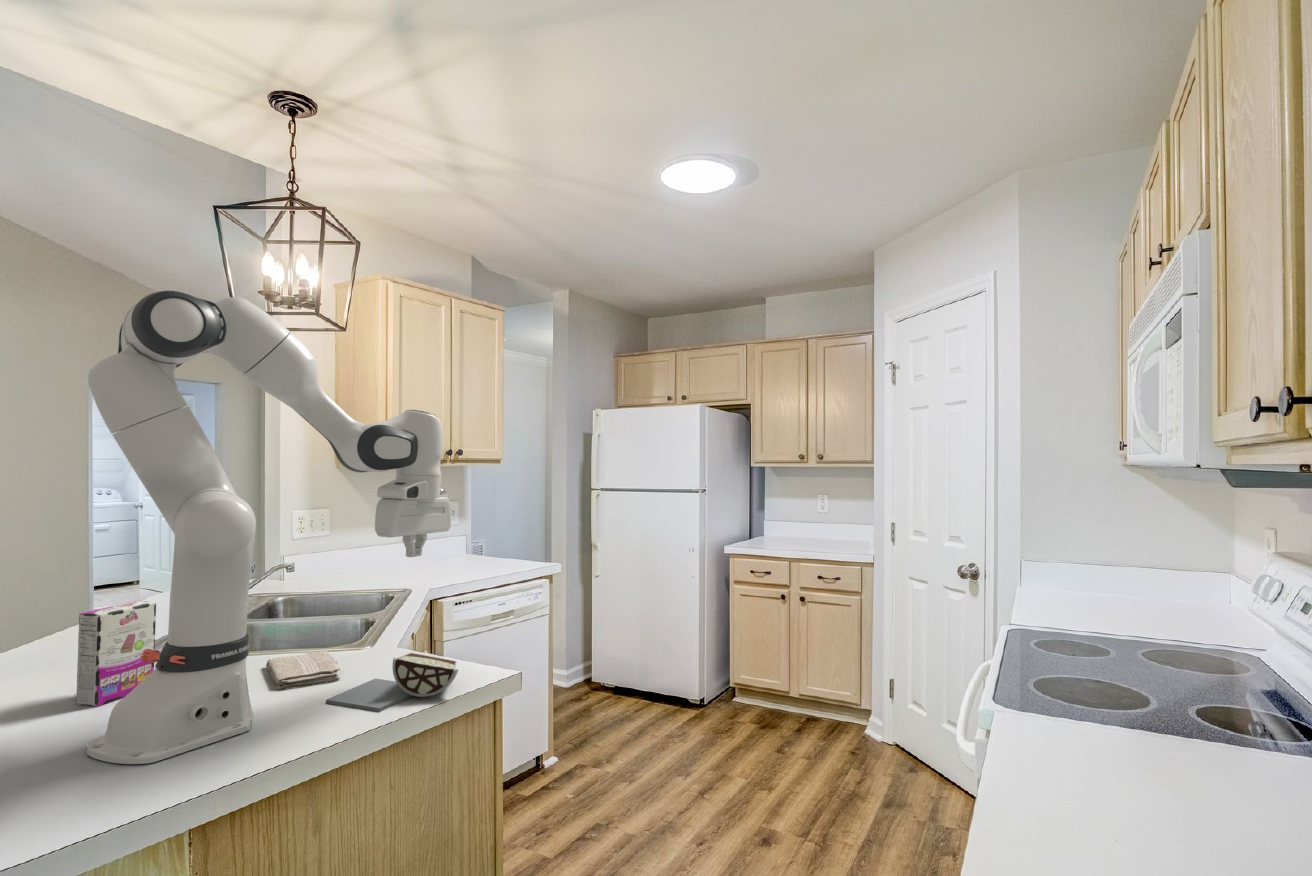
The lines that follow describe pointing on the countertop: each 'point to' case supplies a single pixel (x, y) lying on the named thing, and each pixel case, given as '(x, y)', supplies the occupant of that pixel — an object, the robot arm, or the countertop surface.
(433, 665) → the food container
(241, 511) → the robot arm
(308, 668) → the washcloth
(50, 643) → the countertop surface
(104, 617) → the candy bar box
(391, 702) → the mat
